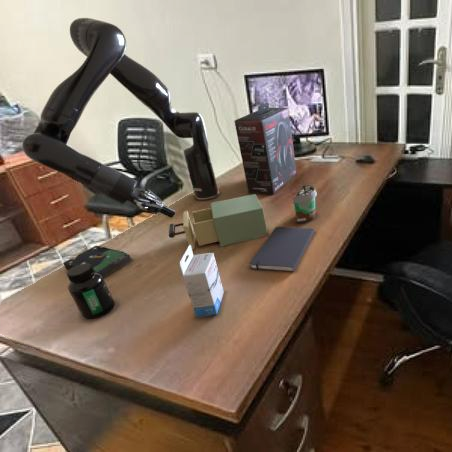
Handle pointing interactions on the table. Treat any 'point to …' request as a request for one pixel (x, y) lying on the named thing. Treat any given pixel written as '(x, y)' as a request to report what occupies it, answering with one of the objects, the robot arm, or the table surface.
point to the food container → (305, 204)
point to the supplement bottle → (89, 292)
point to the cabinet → (238, 219)
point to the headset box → (266, 149)
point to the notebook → (282, 249)
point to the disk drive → (100, 260)
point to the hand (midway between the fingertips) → (173, 214)
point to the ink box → (202, 282)
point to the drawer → (197, 227)
